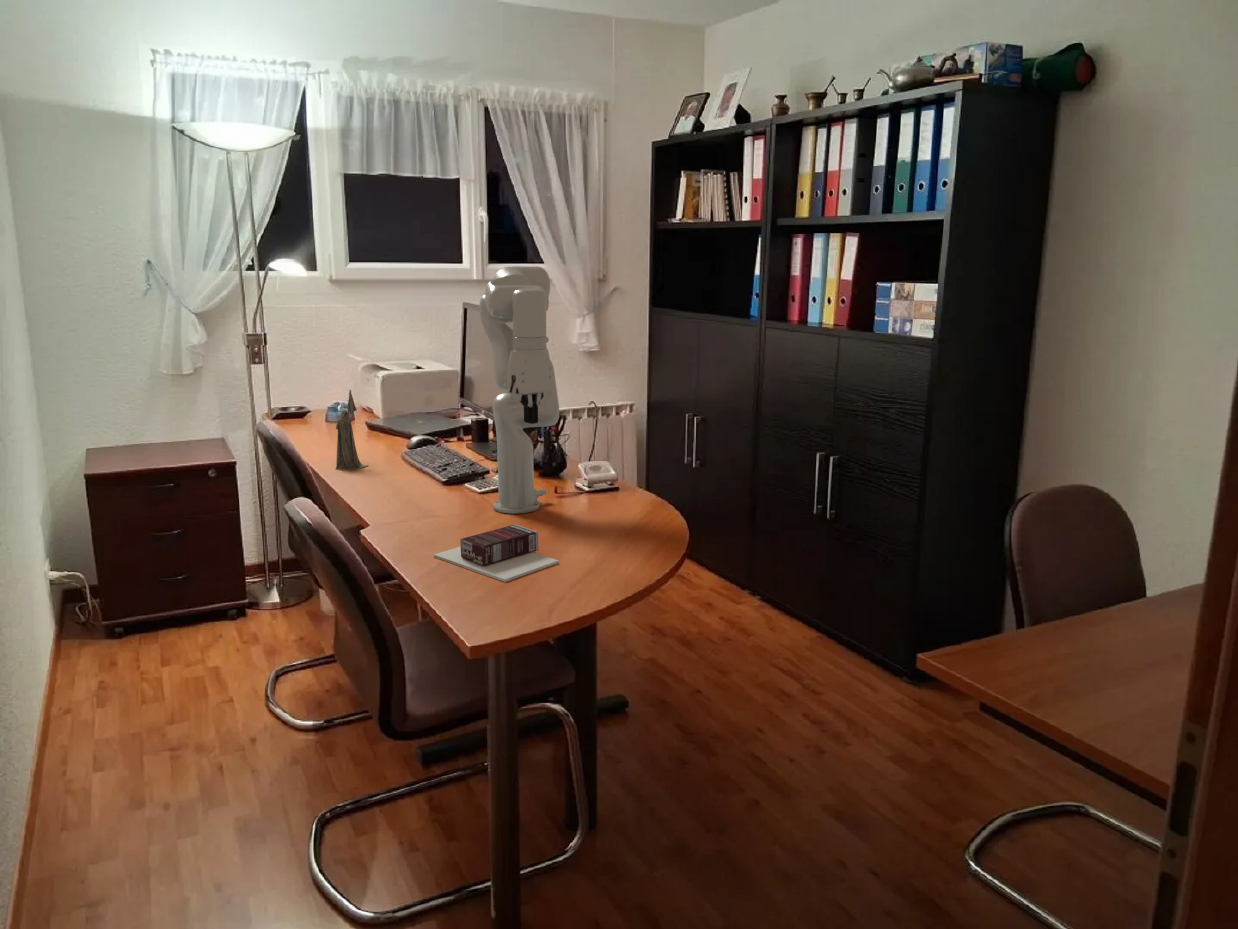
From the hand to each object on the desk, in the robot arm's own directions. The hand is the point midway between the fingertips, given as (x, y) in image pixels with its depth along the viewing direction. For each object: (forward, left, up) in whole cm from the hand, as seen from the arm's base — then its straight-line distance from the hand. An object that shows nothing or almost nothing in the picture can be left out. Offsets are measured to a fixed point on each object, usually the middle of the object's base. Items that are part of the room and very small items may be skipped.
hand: (531, 422), depth 209 cm
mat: (+15, +4, -29) cm, 33 cm away
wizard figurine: (-13, -99, -29) cm, 104 cm away
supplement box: (+5, +4, -26) cm, 27 cm away
